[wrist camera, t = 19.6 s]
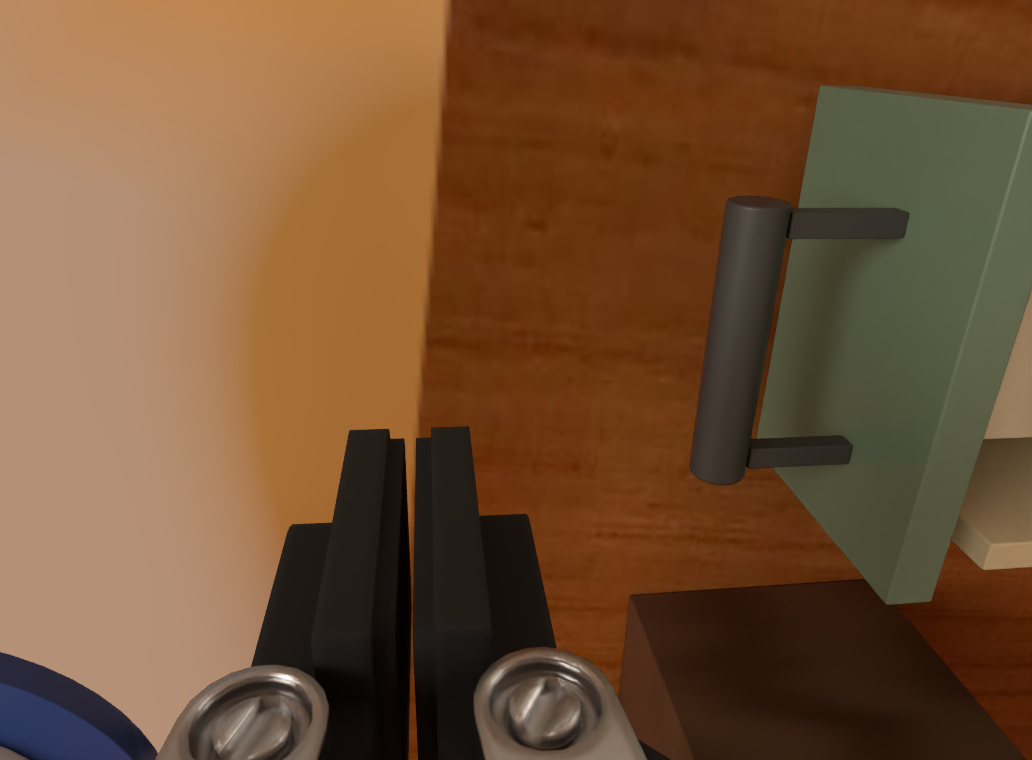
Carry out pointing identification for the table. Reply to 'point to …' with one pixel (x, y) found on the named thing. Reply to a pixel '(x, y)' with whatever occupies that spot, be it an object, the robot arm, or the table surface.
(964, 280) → the drawer
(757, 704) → the stand
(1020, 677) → the table surface
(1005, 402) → the block
